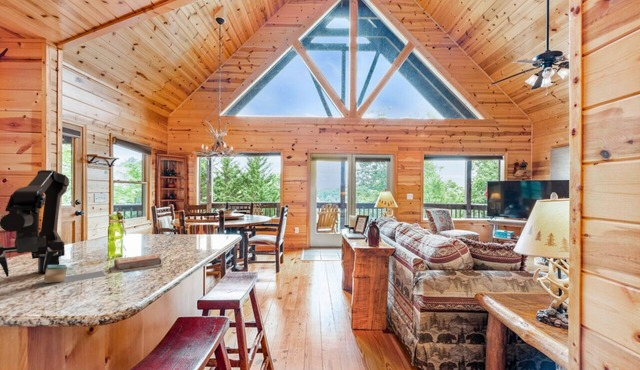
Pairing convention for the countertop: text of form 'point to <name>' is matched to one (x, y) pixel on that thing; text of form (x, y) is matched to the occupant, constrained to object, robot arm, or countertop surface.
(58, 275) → the block
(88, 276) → the mat
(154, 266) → the reddish brown brick
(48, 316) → the countertop surface
